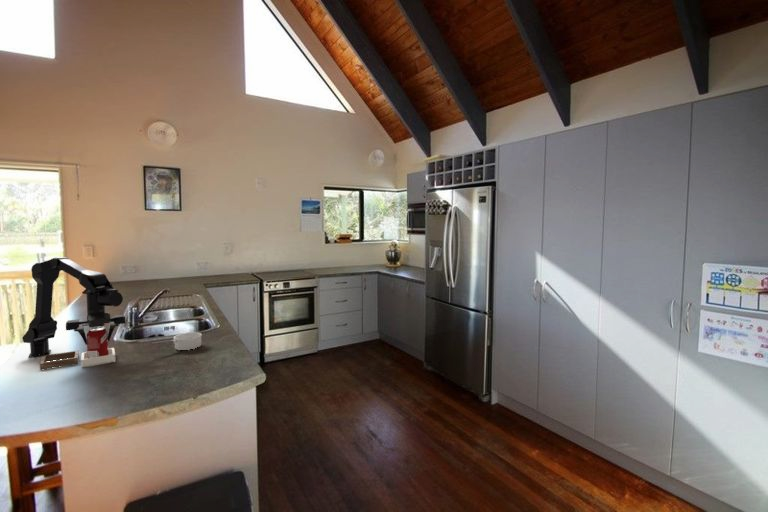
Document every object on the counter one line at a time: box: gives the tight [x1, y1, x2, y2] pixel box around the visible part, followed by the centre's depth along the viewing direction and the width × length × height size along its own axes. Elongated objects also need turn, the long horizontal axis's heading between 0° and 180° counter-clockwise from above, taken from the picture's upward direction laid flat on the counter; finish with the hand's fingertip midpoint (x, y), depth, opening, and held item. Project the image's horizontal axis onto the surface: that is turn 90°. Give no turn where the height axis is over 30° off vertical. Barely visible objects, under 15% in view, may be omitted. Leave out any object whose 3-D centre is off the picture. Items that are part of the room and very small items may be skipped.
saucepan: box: [151, 331, 203, 351], centre depth 163 cm, size 12×20×6 cm, turn 138°
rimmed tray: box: [80, 347, 116, 368], centre depth 149 cm, size 11×11×3 cm
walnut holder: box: [39, 350, 80, 371], centre depth 146 cm, size 11×11×2 cm
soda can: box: [86, 326, 109, 358], centre depth 148 cm, size 7×7×12 cm
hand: (97, 342), depth 148 cm, fingers closed on soda can, 7 cm apart
